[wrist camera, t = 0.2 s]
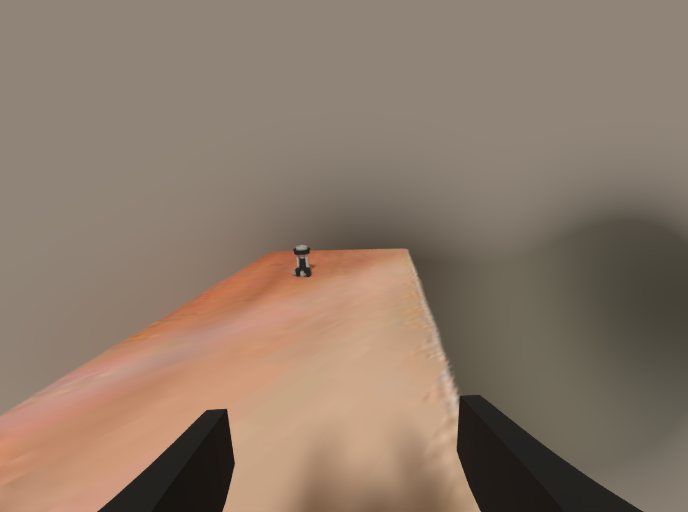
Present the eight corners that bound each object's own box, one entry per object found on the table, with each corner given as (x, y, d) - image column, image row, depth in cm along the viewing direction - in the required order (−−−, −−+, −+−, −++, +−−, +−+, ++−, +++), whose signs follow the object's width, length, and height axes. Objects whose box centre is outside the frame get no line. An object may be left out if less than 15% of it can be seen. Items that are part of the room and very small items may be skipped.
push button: (289, 277, 104) (286, 247, 102) (295, 273, 109) (292, 244, 107) (309, 278, 102) (306, 247, 100) (313, 273, 108) (311, 244, 105)
